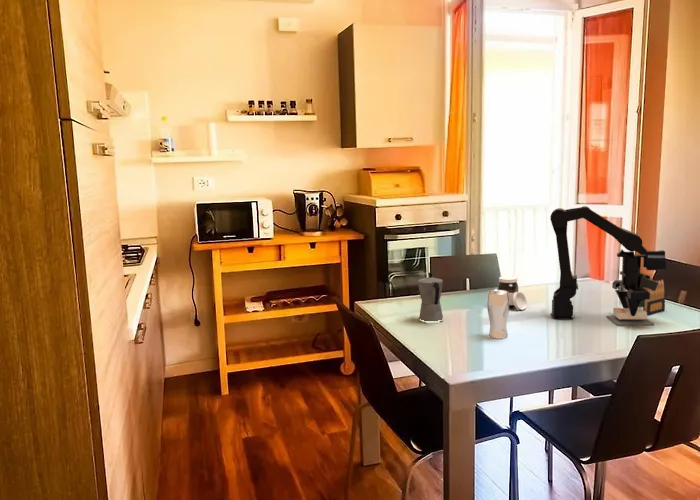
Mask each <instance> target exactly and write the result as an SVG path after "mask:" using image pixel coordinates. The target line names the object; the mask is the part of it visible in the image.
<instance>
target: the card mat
mask: <svg viewBox="0 0 700 500" xmlns="http://www.w3.org/2000/svg"><path fill="white" fill-rule="evenodd" d="M605 316H606V317H605V318H607V320H609V321H610V322H612V323H613V324H614V325H616V326H617V327H621V326H622V327H629V326H631V327H632V326H636V327H637V326H638V327H640V326H643V327H644V326H651V327H652V326H655V323H653V322H652V321H651V320H649V319H648V318H647V319H618V318H617V317H616V316H614V315H605Z"/></svg>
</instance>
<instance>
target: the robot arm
mask: <svg viewBox="0 0 700 500" xmlns="http://www.w3.org/2000/svg"><path fill="white" fill-rule="evenodd" d="M549 219H550V222H551V227H552V229H553V232H554V233H555V239H556V247H557V254H558V263H559V264H558V265H559V271H560V275H559V277H560V278H559V287H558V288H557V289H555V291H554V292H553V296H552V300H551V313H550V316H551V317H552V318H553V319H554V320H573V319H574V317H573V316H574V305H573V301H572V298H574V297H575V296H576V295H577V291H578V290H579V284H578V281H577V280H578V275H577V274H576V275H573V272H572V268H571V259H570V250H569V249H570V248H569V243H568V242H569V241H568V234H567V232H568V223H569V222H572V221H576V220H581V219H584V220H586V221H588V222H589V223H591V224H592V225H594V226H595V227H596V228H599V229H600V230H602V231H603V232H605V233H607V234H608V235H610V236H612V237H613V238H614V240H616V241H617V242H618V243H619V244H620V245H621V246H623V248H625V249H626V250H627V251H625V250H624V249H620V251H619V252H617V253H616V257H618V258H622V263H621V264H622V265H621V266H622V267H621V271H620V272H619V275H621V279H620V280H618V279H616V280H614V281H613V282H612V284H611V285H612V289H613V290H615V293H616V295H617V296H618V299H619V302H620V303H621V306H622V308H629V310H630V313H631V316H635V314H636V312H637V309H638V307H639V304H640V302H642V301H643V300H646V299H650V293H649V292H648V291H647V290H645V289H644V287H645V288H648V289H651V290H653V291H655V290H656V288H657V286H658V281H657V280H654V279H651V276H650V275H648V274H645V273H644V274H643V273H642V272H641V270H642V269H641V266H642V267H643V268H645V270H646V271H662V272H663V271H664V272H665V271H666V269H667V268H666V267H667V261H666V250H660V249H659V250H648V249H647V247H644V246H643V240H642V238H641V236H640V235H639V234H638V233H636V232H633V231H631V230H628V229H625V228H623V227H620V226H618V225H616V224H614V223H613V222H612V221H610V220H608V219H607V218H605V217H604V216H602V215H600V214H599V213H597V212H596V211H594V210H592V209H591V208H590V207H588V206H587V205H583V206H580V207H575V208H573V207H572V208H568V209H564V208H556V209H554V210H553V211H552V212H551V214H550V217H549ZM635 252H636V253H637V254H635ZM656 281H657V282H656ZM638 288H640V289H638ZM639 308H640V307H639Z"/></svg>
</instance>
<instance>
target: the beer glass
mask: <svg viewBox="0 0 700 500" xmlns="http://www.w3.org/2000/svg"><path fill="white" fill-rule="evenodd" d="M486 301H487V302H486V305H487V308H486V309H487V315H488V320H489V331H488V337H489V336H490V337H489V338H491V337H492V338H491V339H494V338H496V339H495V340H504V339H503V338H505V339H507V338H508V335H509V334H508V327H507V325H508V324H507V323H508V317H509V311H510V309H509V292H508V291H505V290H498V289H491V290H488V291H487V300H486Z"/></svg>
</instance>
